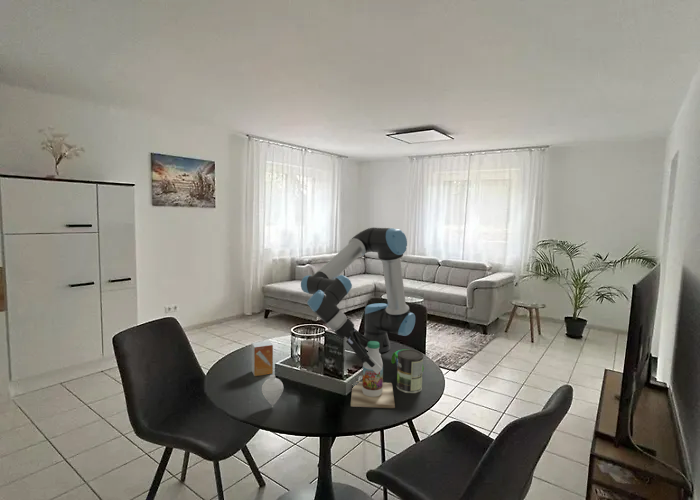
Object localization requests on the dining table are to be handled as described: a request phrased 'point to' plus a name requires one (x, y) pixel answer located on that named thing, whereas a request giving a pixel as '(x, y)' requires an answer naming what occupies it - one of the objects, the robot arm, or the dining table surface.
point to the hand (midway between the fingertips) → (379, 364)
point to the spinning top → (272, 389)
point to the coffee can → (409, 371)
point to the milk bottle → (372, 372)
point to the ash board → (380, 401)
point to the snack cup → (397, 357)
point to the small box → (262, 358)
